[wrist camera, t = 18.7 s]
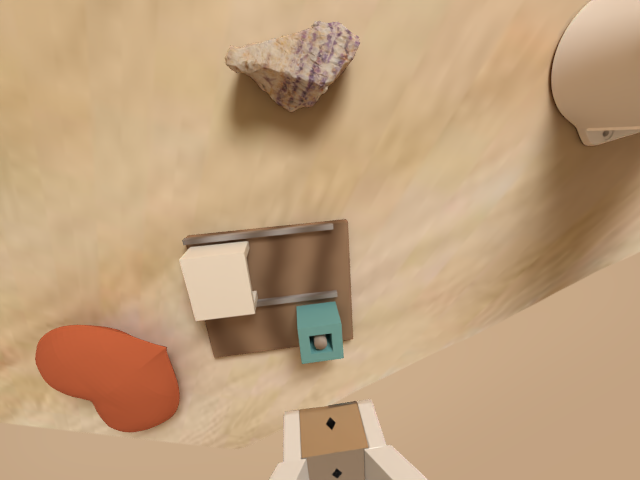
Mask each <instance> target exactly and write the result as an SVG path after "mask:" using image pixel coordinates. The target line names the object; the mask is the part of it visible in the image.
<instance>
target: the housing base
mask: <svg viewBox="0 0 640 480" xmlns="http://www.w3.org/2000/svg"><path fill="white" fill-rule="evenodd" d="M182 241H183V245H186V246H187V250H188V249H189V247H195V246H204V245H214V244H223V243H233V242H242V241H248V242H249V252H248V255H247V264H248V270H249V275H250V281H251V287H252V291H257V295H258V299H257V305H256V311H255V314H249V315H241V316H233V317H225V318H217V319H209V320H205V322H206V326H207V330H208V334H209V338H210V342H211V346H212V350H213V354H214V357H222V356H229V355H237V354H245V353H252V352H260V351H267V350H275V349H282V348H290V347H297V346H300V345H299V337H298V328H297V310H296V306H302V305H310V304H318V303H326V302H334V301H335V302H336V306H337V309H338V313H339V316H340V320H341V324H342V340H350V339H353V326H352V303H351V281H350V258H349V235H348V221H347V220H346V219H344V220H335V221H325V222H315V223H305V224H296V225H286V226H276V227H267V228H257V229H247V230H237V231H228V232H218V233H208V234H199V235H189V236H187V237H186V238H184V239H183V240H182ZM313 337H314V345H315V347H316V348H317V349H320V350H321V349H324V348H326V346H327V339H326V334H322V335H315V336H313Z"/></svg>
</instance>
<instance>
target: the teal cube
mask: <svg viewBox="0 0 640 480" xmlns="http://www.w3.org/2000/svg"><path fill="white" fill-rule="evenodd" d="M296 310H297V328H298V337H299V345H300V353H301V361H302V364H305V363H312V362H319V361H327V360H334V359H341V358H344V356H343V340H342V324H341V320H340V316H339V313H338V309H337V306H336V302H335V301H334V302H326V303H318V304H310V305H302V306H296ZM322 334H326V339H327V346H326V348H324V349H321V350H320V349H317V348H316V347H315V345H314V337H313V336H315V335H322Z"/></svg>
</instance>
